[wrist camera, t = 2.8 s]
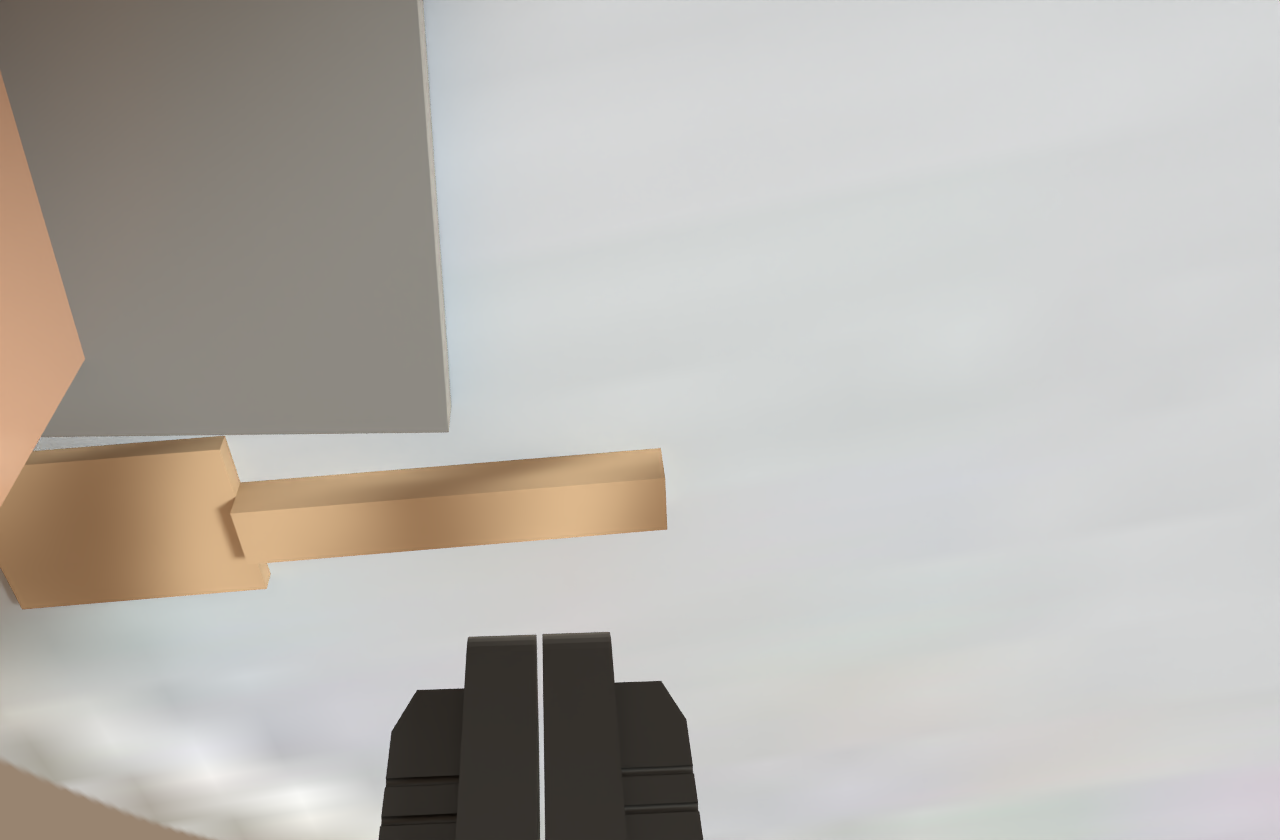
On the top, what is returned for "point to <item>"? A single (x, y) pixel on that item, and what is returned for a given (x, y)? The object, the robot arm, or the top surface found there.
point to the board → (237, 211)
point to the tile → (28, 312)
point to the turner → (284, 515)
